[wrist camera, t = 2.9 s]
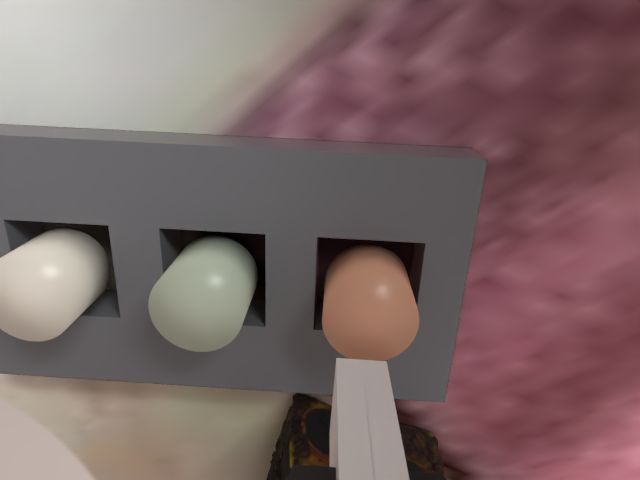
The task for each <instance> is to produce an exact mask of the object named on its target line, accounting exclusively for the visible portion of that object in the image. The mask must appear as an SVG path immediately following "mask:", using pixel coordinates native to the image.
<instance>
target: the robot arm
mask: <svg viewBox="0 0 640 480" xmlns="http://www.w3.org/2000/svg"><path fill="white" fill-rule="evenodd" d="M285 480H446V478H445V477H444V476H443V474H442V473H434V472H419V471H408V469H407V464H406V459H405V454H404V448H403V443H402V438H401V433H400V428H399V423H398V417H397V412H396V407H395V402H394V397H393V392H392V386H391V381H390V376H389V371H388V366H387V361H374V360H360V359H345V358H336V366H335V377H334V388H333V399H332V410H331V421H330V467H325V466H310V465H295V464H294V466H293V468H292V469H291V471H290V473H289V474H288V476H287V477H286V479H285Z"/></svg>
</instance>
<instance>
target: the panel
mask: <svg viewBox="0 0 640 480" xmlns="http://www.w3.org/2000/svg"><path fill="white" fill-rule="evenodd" d="M486 165H487V159H486V158H484V157H483V156H482V155H480V154H479V153H478V152H476V151H475V150H473V149H472V148H467V147H447V146H427V145H407V144H387V143H367V142H347V141H327V140H307V139H287V138H267V137H247V136H227V135H207V134H187V133H167V132H147V131H127V130H107V129H88V128H68V127H48V126H28V125H8V124H0V258H1V257H3V256H4V255H6V254H8V253H10V252H11V251H13V250H15V249H16V248H18V247H20V246H21V245H23V244H25V243H26V242H28V241H30V240H31V239H33V238H35V237H36V236H38V235H40V234H41V233H43V232H45V231H44V225H43V222H54V223H72V224H90V225H107V226H108V228H109V236H110V243H111V251H112V258H113V266H114V273H115V280H116V288H117V291H115V290H105V291H104V292H103V293H102V294H101V295H100V296H99V297H98V298H97V299H96V300H95V301H94V302H93V303H92V304H91V305H90V306H89V307H88V308H87V309H86V310H85V311H84V312H83V313H82V314H81V315H80V316H79V317H78V318H77V319H76V320H75V321H74V322H73V323H72V324H71V325H70V326H69V327H68V328H67V329H66V330H65V331H64V332H63V333H61V334H60V335H59V336H57V337H55V338H53V339H51V340H47V341H40V342H37V341H26V340H22V339H19V338H16V337H14V336H11V335H9V334H8V333H6V332H4V331H3V330H1V329H0V374H16V375H31V376H46V377H62V378H77V379H93V380H108V381H123V382H139V383H154V384H169V385H185V386H200V387H215V388H231V389H246V390H262V391H277V392H292V393H308V394H323V395H333V388H334V377H335V366H336V358H345V359H349V358H347V357H345V356H343V355H342V354H340V353H339V352H337V351H336V350H335V349H334V348H333V347H332V346H331V345H330V343H329V342H328V340H327V338H326V336H325V334H324V331H323V327H322V314H323V303H316V296H317V274H318V251H319V237H322V238H340V239H358V240H376V241H394V242H412V243H414V250H413V258H412V266H411V274H410V285H411V288H412V291H413V295H414V298H415V302H416V305H417V309H418V313H419V328H418V332H417V334H416V336H415V338H414V340H413V342H412V343H411V344H410V346H409V347H408V348H407V349H406V350H404V351H403V352H402V353H400V354H399V355H397V356H395V357H393V358H391V359H388V360H385V361H387V366H388V371H389V376H390V381H391V386H392V392H393V397H394V399H400V400H415V401H431V402H445V398H446V393H447V387H448V381H449V376H450V370H451V364H452V359H453V353H454V347H455V342H456V336H457V330H458V325H459V319H460V313H461V307H462V302H463V296H464V290H465V285H466V279H467V273H468V268H469V262H470V256H471V251H472V245H473V239H474V234H475V228H476V222H477V216H478V211H479V205H480V199H481V194H482V188H483V182H484V177H485V171H486ZM180 230H197V231H215V232H233V233H251V234H265V280H266V300H265V299H252V300H251V303H250V305H249V308H248V311H247V313H246V316H245V319H244V321H243V324H242V327H241V329H240V331H239V333H238V335H237V336H236V337H235V339H234V340H233V341H232V342H230V343H229V344H228V345H226V346H224V347H222V348H220V349H217V350H214V351H208V352H195V351H190V350H186V349H183V348H180V347H178V346H176V345H174V344H172V343H171V342H169V341H168V340H167V339H165V338H164V337H163V336H162V335H161V334H160V333H159V332H158V330H157V329H156V327H155V326H154V324H153V322H152V320H151V317H150V314H149V309H148V302H149V296H150V293H151V290H152V288H153V287H154V285H155V284H156V282H157V281H158V280H159V279H160V277H161V276H162V275H163V274H164V273H165V271H166V270H167V269H168V268H169V266H170V265H171V264H172V263H173V262H174V260H175V259H176V258H177V257H178V255H179V254H180V253H181V239H180Z"/></svg>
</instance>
